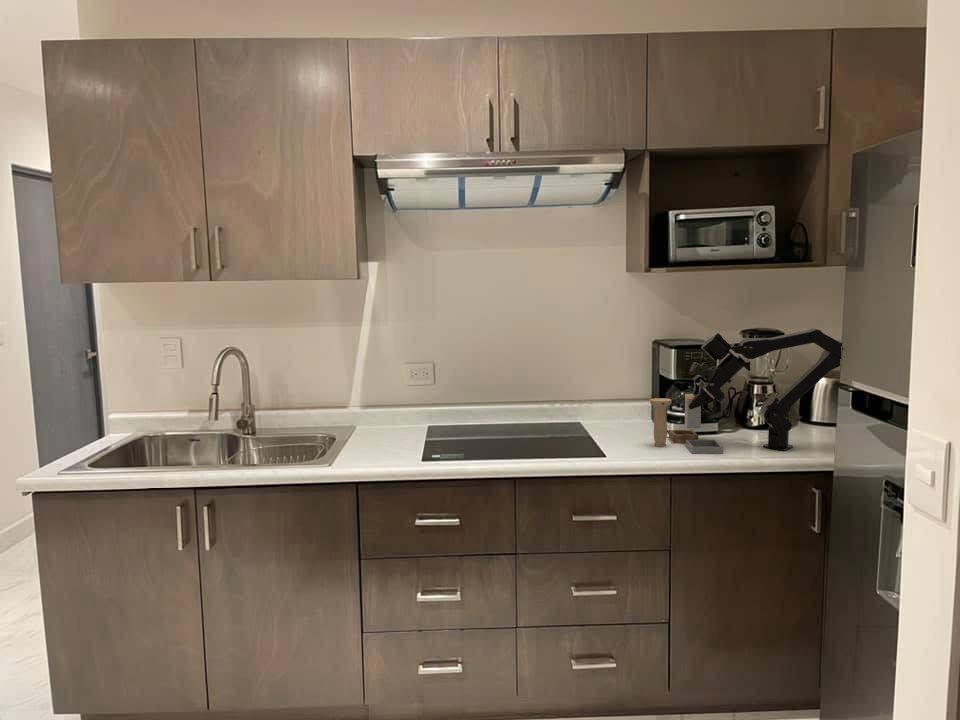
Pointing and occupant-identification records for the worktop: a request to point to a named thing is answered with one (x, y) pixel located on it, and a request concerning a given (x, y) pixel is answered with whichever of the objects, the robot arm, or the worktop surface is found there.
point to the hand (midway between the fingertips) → (688, 406)
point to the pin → (692, 413)
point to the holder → (681, 436)
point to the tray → (704, 447)
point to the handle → (660, 420)
